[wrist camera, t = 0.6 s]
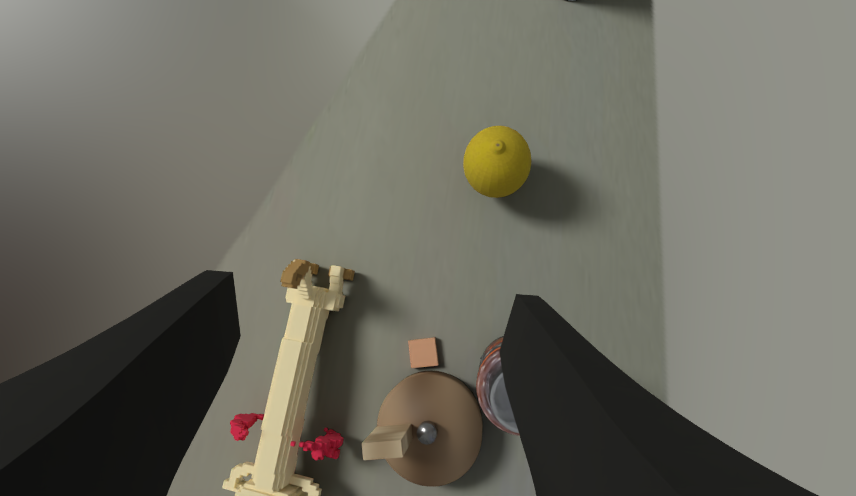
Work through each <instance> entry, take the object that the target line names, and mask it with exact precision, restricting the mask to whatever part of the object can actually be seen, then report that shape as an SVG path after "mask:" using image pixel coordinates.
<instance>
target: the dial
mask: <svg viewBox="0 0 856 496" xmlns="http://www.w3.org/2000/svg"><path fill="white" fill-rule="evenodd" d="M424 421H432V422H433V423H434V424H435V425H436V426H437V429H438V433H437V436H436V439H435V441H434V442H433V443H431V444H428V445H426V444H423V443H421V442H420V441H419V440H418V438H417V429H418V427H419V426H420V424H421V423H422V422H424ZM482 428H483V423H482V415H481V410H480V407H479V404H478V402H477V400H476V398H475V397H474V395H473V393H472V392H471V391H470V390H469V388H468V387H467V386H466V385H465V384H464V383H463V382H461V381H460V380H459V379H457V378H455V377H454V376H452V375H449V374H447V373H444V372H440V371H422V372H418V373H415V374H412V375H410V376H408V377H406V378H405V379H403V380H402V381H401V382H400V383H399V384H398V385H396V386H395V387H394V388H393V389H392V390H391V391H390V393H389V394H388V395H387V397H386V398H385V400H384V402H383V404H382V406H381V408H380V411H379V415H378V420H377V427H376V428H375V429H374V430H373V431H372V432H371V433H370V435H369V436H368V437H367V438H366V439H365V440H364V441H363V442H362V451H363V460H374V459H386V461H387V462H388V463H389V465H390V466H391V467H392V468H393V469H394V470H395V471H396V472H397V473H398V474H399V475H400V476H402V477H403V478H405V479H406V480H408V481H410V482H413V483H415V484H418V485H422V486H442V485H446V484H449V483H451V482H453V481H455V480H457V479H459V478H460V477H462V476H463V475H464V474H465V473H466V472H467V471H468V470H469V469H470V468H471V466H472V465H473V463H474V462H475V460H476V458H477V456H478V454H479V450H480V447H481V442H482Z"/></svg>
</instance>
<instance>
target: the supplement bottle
mask: <svg viewBox="0 0 856 496" xmlns="http://www.w3.org/2000/svg"><path fill="white" fill-rule="evenodd" d="M503 337H504V336H502V337H500V338H498V339H496V340H495V341H493V342H492V343H491V344H490V345H489V346H488V347H487V348H486V350H485V351H484V353H483V355H482V357H481V358H480V359H481V362H480V366H479V370H478V375H477V383H476V389H477V396H478V401H479V404H480V406H481V408H482V410H483V412H484V414H485V415H486V416H487V418H488V419H489V420H490V421H491V422H492V423H493V424H494V425H495V426H497V427H498V428H499V429H501V430H503V431H505V432H507V433H510V434H513V435H519V432H518V428H517V425H516V422H515V418H514V415H513V412H512V409H511V405H510V402H509V398H508V395H507V392H506V388H505V384H504V378H503V372H502V366H501V360H500V353H499V351H500V347H501V344H502V340H503ZM519 436H520V435H519Z"/></svg>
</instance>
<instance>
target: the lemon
mask: <svg viewBox="0 0 856 496" xmlns="http://www.w3.org/2000/svg"><path fill="white" fill-rule="evenodd" d="M530 167H531V153H530V150H529V147H528V144H527V142H526V141H525V139H524V138H523V137H522V135H520V134H519V133H518V132H517V131H516V130H513V129H511V128H509V127H505V126H492V127H489V128H486V129H484V130H482V131H480V132H479V133H478V134H477V135H475V136H474V137H473V138H472V140H471V141H470V143H469V145H468V146H467V149H466V152H465V155H464V171H465V176H466V178H467V180H468V182H469V184H470V185H471V186H472V187H473V188H474V189H475V190H476V191H477V192H479V193H480V194H482V195H485V196H488V197H495V198H499V197H505V196H508V195H510V194H512V193H514V192H515V191H516V190H518V189H519V188H520V187H521V186H522V185H523V184H524V182H525V181H526V179H527V177H528V175H529V172H530Z"/></svg>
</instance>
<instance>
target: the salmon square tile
mask: <svg viewBox="0 0 856 496" xmlns="http://www.w3.org/2000/svg"><path fill="white" fill-rule="evenodd" d="M408 343H409V352H410V360H411V368H418V367H428V366H437V365H439V362H438V354H437V346H436V338H435V337H432V338H424V339H415V340H409V341H408Z"/></svg>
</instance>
